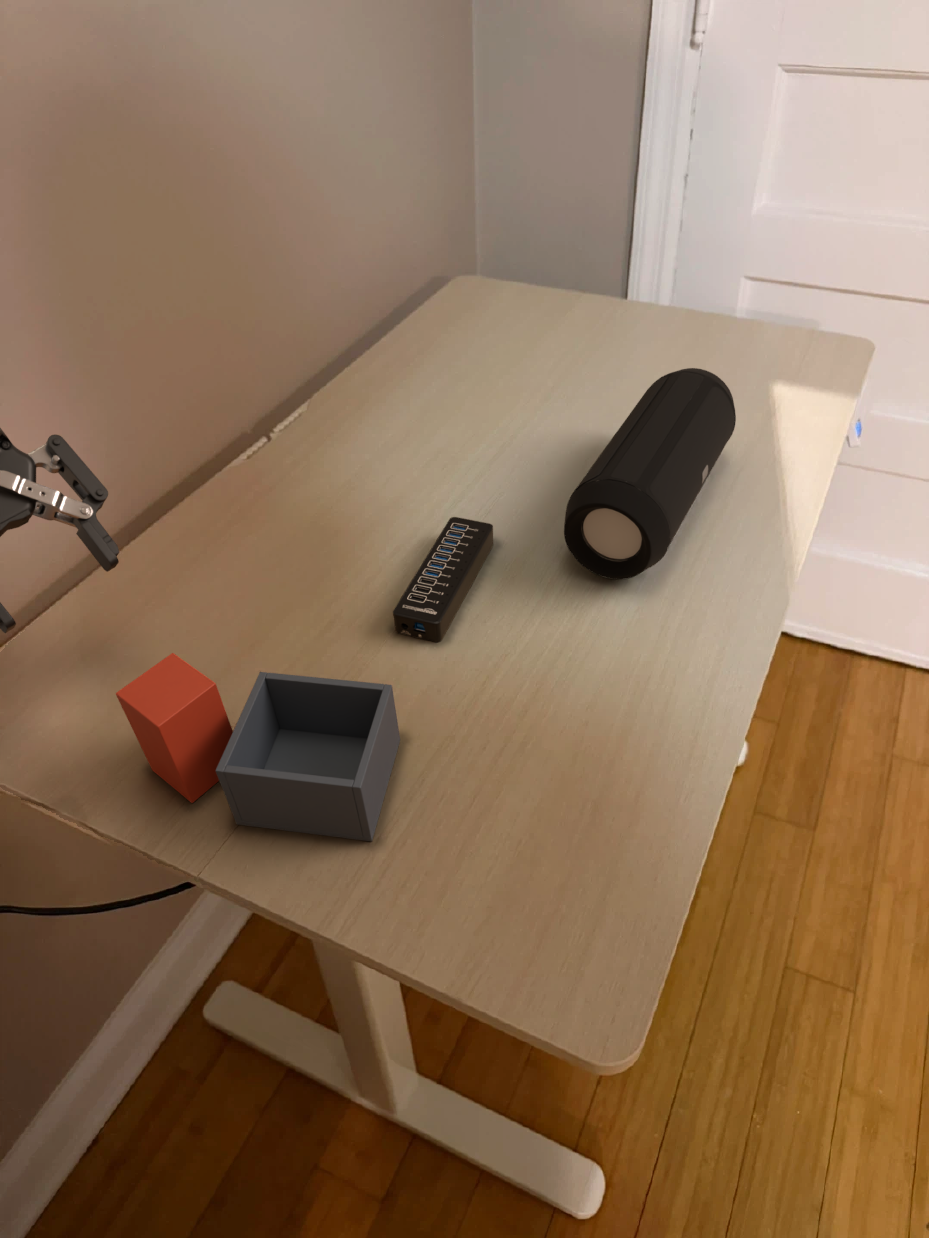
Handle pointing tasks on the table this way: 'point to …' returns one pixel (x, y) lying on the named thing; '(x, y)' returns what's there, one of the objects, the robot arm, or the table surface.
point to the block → (178, 724)
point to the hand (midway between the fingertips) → (64, 596)
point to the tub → (311, 755)
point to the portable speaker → (649, 474)
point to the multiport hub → (443, 579)
